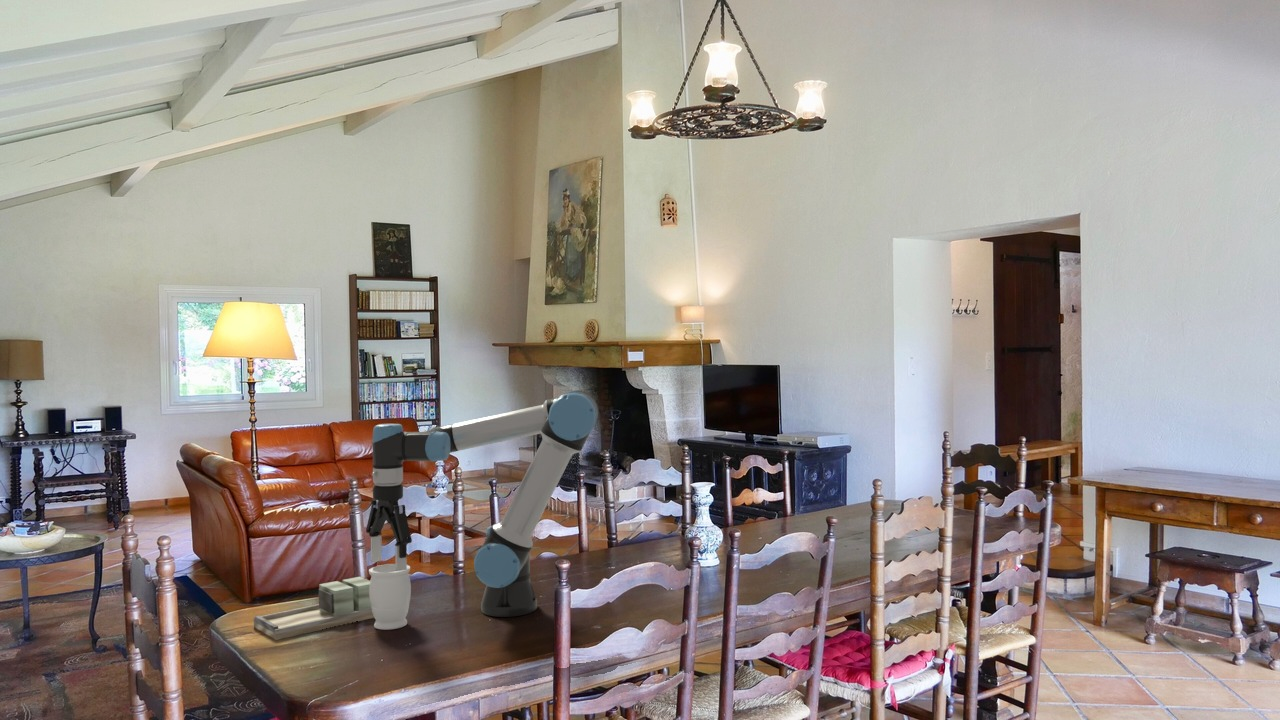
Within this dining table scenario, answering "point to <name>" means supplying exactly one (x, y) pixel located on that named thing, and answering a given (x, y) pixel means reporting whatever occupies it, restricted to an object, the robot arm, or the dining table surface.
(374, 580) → the jar
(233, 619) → the dining table surface
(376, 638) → the dining table surface
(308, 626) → the rail board
